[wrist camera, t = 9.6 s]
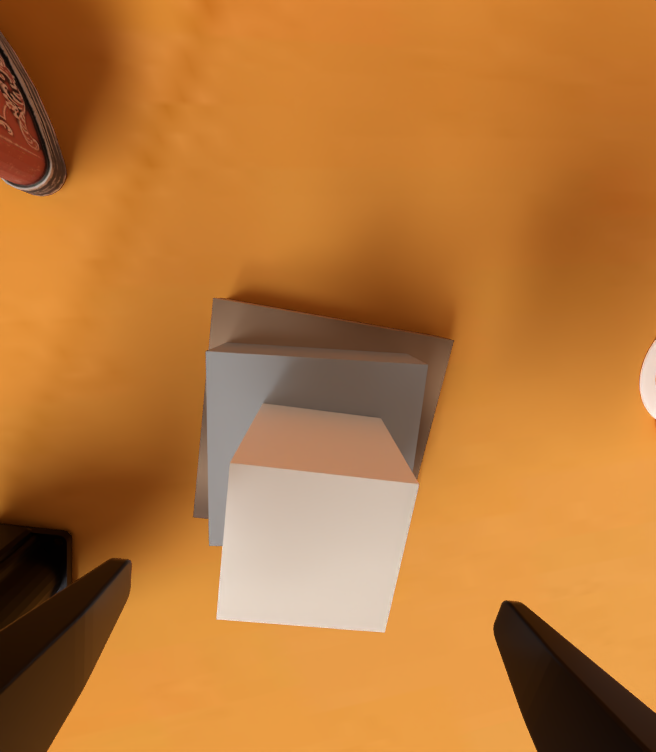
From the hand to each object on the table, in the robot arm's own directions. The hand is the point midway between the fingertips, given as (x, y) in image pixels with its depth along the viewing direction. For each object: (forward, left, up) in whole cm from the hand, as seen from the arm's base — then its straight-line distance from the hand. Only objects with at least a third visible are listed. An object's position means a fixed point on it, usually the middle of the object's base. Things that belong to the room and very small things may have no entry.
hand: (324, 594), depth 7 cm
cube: (0, 0, -6) cm, 6 cm away
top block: (0, 0, -9) cm, 9 cm away
